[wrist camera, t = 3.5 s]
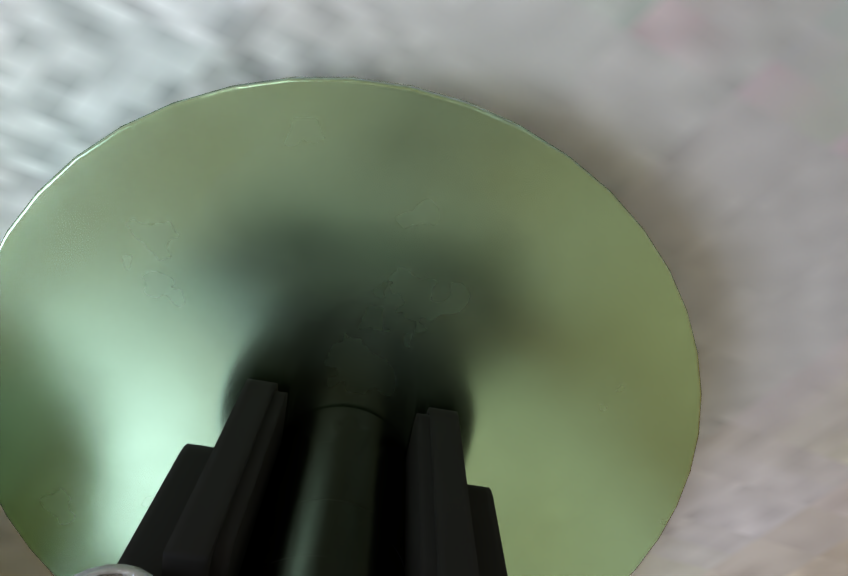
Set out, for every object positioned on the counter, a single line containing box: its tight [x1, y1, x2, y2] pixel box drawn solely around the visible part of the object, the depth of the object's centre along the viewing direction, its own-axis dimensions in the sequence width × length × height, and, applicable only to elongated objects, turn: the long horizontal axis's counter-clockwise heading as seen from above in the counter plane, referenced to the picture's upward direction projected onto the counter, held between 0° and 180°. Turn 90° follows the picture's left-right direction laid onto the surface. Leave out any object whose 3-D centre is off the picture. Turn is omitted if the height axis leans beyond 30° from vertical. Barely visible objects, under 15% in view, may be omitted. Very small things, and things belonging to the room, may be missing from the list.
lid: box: [0, 77, 702, 576], centre depth 9 cm, size 14×14×7 cm
